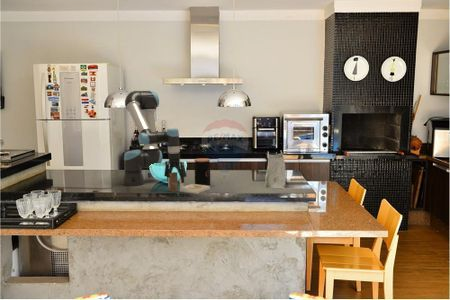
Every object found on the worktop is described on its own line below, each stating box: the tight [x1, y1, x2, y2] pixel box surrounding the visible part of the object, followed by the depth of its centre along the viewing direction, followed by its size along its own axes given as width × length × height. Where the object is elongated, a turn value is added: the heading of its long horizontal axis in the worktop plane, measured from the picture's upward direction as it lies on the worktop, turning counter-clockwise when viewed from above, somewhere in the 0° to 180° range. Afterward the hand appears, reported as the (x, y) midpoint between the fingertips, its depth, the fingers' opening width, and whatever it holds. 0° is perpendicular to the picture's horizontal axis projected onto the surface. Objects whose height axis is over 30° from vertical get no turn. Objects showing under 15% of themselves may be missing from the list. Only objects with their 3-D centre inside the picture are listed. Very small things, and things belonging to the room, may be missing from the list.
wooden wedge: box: [169, 171, 179, 193], centre depth 284 cm, size 3×5×12 cm, turn 148°
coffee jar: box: [194, 157, 211, 186], centre depth 301 cm, size 11×11×18 cm
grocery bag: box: [264, 150, 286, 189], centre depth 307 cm, size 32×14×23 cm, turn 175°
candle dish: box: [179, 183, 211, 195], centre depth 286 cm, size 14×14×3 cm
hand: (176, 187), depth 284 cm, fingers open, 9 cm apart
